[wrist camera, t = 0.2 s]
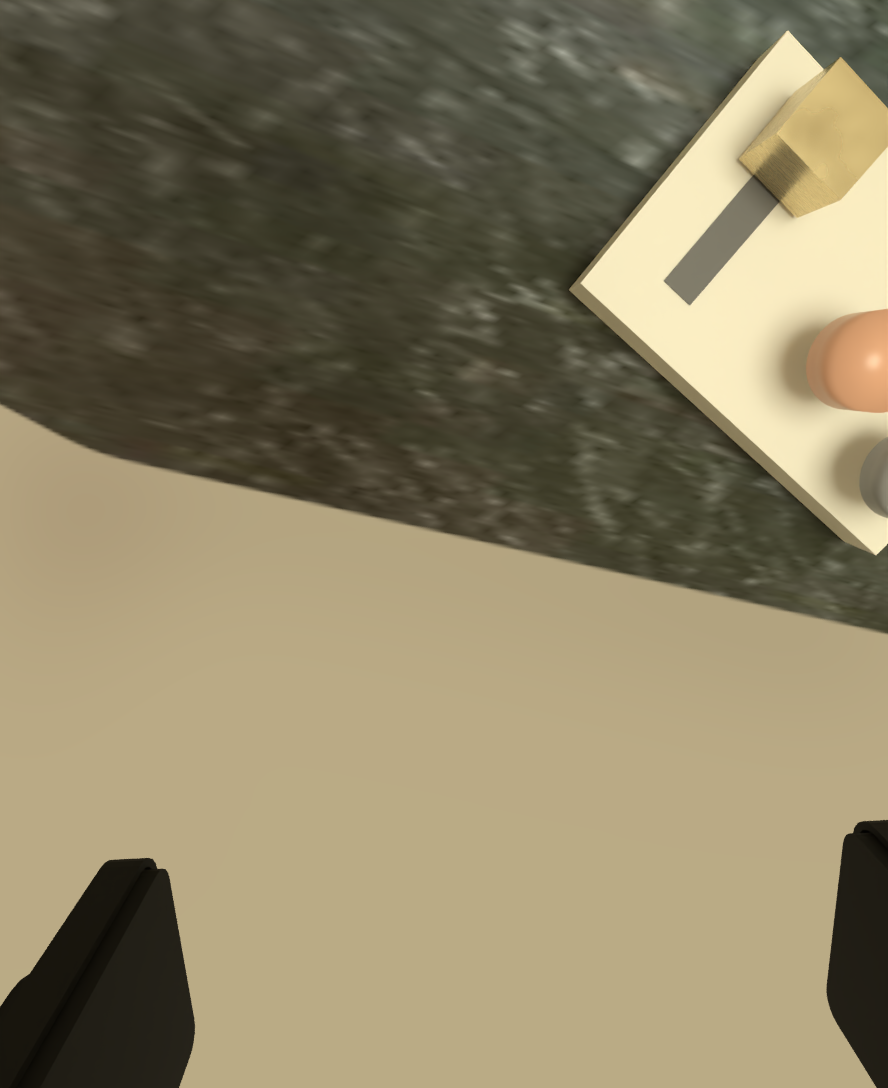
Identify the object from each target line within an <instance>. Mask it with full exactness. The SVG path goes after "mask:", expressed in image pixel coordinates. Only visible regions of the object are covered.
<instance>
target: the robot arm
mask: <svg viewBox="0 0 888 1088" xmlns="http://www.w3.org/2000/svg"><path fill="white" fill-rule="evenodd" d="M827 998H828V1003H829V1006H830V1010H831V1012H832V1015H833V1017H834V1019H835V1021H836V1022H837V1024H838V1026H839V1027H840V1029H841V1031H842V1032H843V1034H844V1036H845V1037H846V1039H847V1040H848V1042H849V1044H850V1045H851V1047H852V1049H853V1050H854V1052H855V1053H856V1055H857V1057H858V1058H859V1060H860V1061H861V1063H862V1065H863V1066H864V1068H865V1070H866V1071H867V1073H868V1074H869V1076H870V1078H871V1079H872V1081H873V1082H874V1084H875V1086H876V1087H877V1088H888V820H880V821H863V822H859V823H858V824H857V825H856V826H855V828H854V832H853V833H852V834H847V835H846V836H845V838H844V842H843V849H842V857H841V866H840V875H839V883H838V892H837V901H836V909H835V918H834V927H833V935H832V944H831V953H830V962H829V970H828V979H827ZM194 1034H195V1023H194V1015H193V1010H192V1005H191V998H190V993H189V987H188V981H187V975H186V970H185V964H184V958H183V953H182V948H181V941H180V936H179V930H178V924H177V919H176V913H175V908H174V901H173V896H172V890H171V884H170V879H169V875H168V872H167V871H166V869H157V867H156V863H155V862H154V860H153V859H150V858H140V859H120V860H109V861H107V862H106V863H104V865H103V866H102V867H101V868H100V869H99V871H98V873H97V874H96V876H95V877H94V878H93V880H92V881H91V883H90V885H89V886H88V887H87V889H86V890H85V892H84V893H83V895H82V897H81V898H80V899H79V901H78V902H77V904H76V906H75V907H74V909H73V910H72V911H71V913H70V914H69V916H68V917H67V919H66V921H65V922H64V923H63V925H62V926H61V928H60V929H59V931H58V932H57V934H56V935H55V937H54V938H53V940H52V941H51V943H50V944H49V946H48V947H47V949H46V950H45V952H44V954H43V955H42V956H41V958H40V959H39V961H38V962H37V964H36V965H35V967H34V968H33V970H32V971H31V973H30V974H29V975H27V976H26V977H24V978H23V979H21V980H20V981H19V982H18V983H17V985H16V986H15V987H14V988H13V989H12V991H11V992H10V993H9V995H8V996H7V998H6V999H5V1001H4V1002H3V1004H2V1005H1V1006H0V1088H179V1086H180V1083H181V1080H182V1078H183V1075H184V1072H185V1069H186V1066H187V1063H188V1060H189V1058H190V1054H191V1051H192V1047H193V1041H194Z"/></svg>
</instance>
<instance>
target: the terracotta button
mask: <svg viewBox="0 0 888 1088" xmlns="http://www.w3.org/2000/svg"><path fill="white" fill-rule="evenodd" d="M806 375H807V380H808V383H809V386H810V388H811V390H812V392H813V393H814V395H815V396H816V397H817V398H818V399H819V400H820V401H821V402H823V403H824V404H826V405H828V406H830V407H832V408H836V409H842V410H852V411H862V412H871V413H884V412H888V309H882V310H874V311H867V312H859V313H852V314H848V315H844V316H842V317H840V318H837V319H836V320H834V321H832V322H831V323H829V324H828V325H827V326H826V327H825V328H824V329H823V330H822V331H821V332H820V333H819V334H818V335H817V337H816V338H815V340H814V342H813V343H812V345H811V348H810V350H809V353H808V357H807V362H806Z"/></svg>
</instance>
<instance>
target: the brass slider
mask: <svg viewBox="0 0 888 1088" xmlns="http://www.w3.org/2000/svg"><path fill="white" fill-rule="evenodd" d="M887 147H888V108H887V107H886V106H885V105H884V104H883V103H882V102H881V101H880V99H879V98H878V97H877V96H876V95H875V94H874V93H873V92H872V91H871V90H870V89H869V87H868V86H867V85H866V84H865V83H864V82H863V81H862V80H861V79H860V78H859V76H858V75H857V74H856V73H855V72H854V71H853V70H852V69H851V68H850V67H849V66H848V64H847V63H846V62H845V61H844V60H843V59H842V58H841V57H840V58H838V59H837V60H836V61H834V62H833V63H832V64H830V65H829V66H828V67H827V68H825V69H824V70H823V71H821V72H820V73H819V74H817V75H816V76H815V77H813V78H812V79H811V80H809V81H808V82H807V83H806V84H804V85H803V86H802V87H800V88H799V89H798V90H796V91H795V92H794V93H793V94H792V96H791V97H790V98H789V99H788V100H787V102H786V103H785V104H784V105H783V106H782V108H781V109H780V110H779V111H778V112H777V114H776V115H775V116H774V117H773V118H772V120H771V121H770V122H769V123H768V124H767V126H766V127H765V128H764V129H763V130H762V131H761V133H760V134H759V135H758V136H757V137H756V139H755V140H754V141H753V142H752V143H751V145H750V146H749V147H748V148H747V149H746V151H745V152H744V153H743V154H742V155H741V157H740V158H739V160H740V161H741V162H742V163H743V164H744V165H745V166H746V167H747V168H748V169H749V170H750V171H751V172H752V173H753V174H754V175H755V176H756V177H757V178H758V179H759V180H760V181H761V182H762V183H763V184H764V185H765V186H766V187H767V188H768V189H769V190H770V191H771V192H772V193H773V194H774V195H775V196H776V197H777V198H778V199H779V200H780V201H781V202H782V203H783V204H784V205H785V206H786V207H787V208H788V209H789V210H790V211H791V213H792V214H793V215H794V216H795V217H796V218H798V217H801V216H803V215H806V214H808V213H811V212H813V211H815V210H818V209H820V208H823V207H825V206H828V205H830V204H833V203H835V202H837V201H840V200H841V199H842V198H843V197H844V196H845V195H846V194H847V192H848V191H849V190H850V189H851V188H852V187H853V186H854V184H855V183H856V182H857V181H858V180H859V179H860V178H861V177H862V175H863V174H864V173H865V172H866V171H867V170H868V169H869V167H870V166H871V165H872V164H873V163H874V162H875V161H876V160H877V158H878V157H879V156H880V155H881V154H882V153H883V152H884V150H885V149H886V148H887Z"/></svg>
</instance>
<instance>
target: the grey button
mask: <svg viewBox="0 0 888 1088" xmlns="http://www.w3.org/2000/svg"><path fill="white" fill-rule="evenodd" d="M859 487H860V492H861V496H862V498H863V500H864V502H865V503H866V505H867V506H868V507H869V508H870V509H871V510H872V511H873V512H874V513H876V514H878V515H880V516H882V517H885V518H888V437H886V438H884V439H883V440H882V441H880V442H879V443H878V444H877V445H876V446H875V447H874V448H873V449H872V450H871V451H870V453H869V454H868V455H867V457H866V459H865V461H864V463H863V465H862V468H861V472H860V478H859Z"/></svg>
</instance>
